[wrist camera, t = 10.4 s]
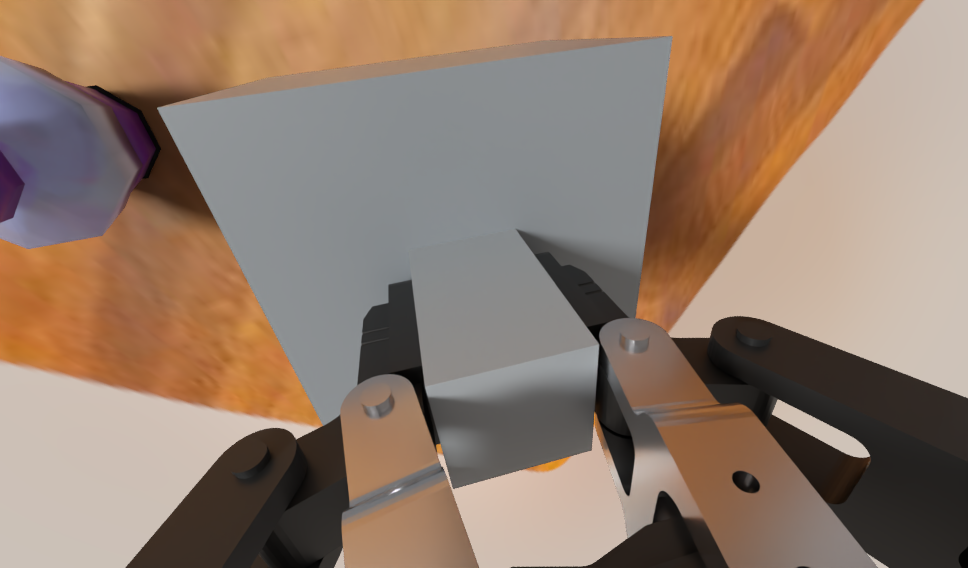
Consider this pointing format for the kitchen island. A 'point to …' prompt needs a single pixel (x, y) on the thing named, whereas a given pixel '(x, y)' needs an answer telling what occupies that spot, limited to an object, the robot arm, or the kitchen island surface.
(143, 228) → the kitchen island surface
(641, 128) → the grey block
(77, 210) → the potion bottle
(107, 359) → the kitchen island surface
